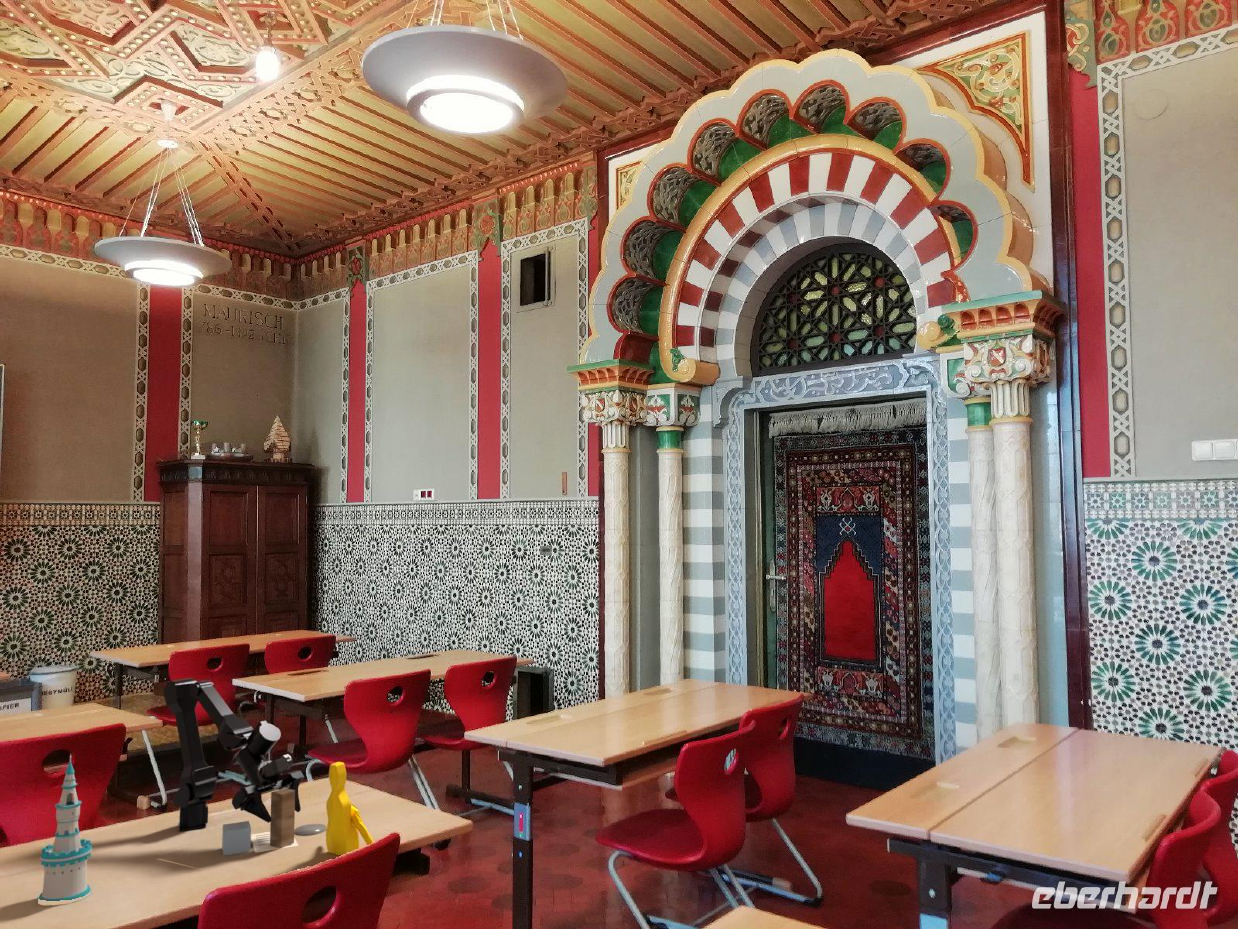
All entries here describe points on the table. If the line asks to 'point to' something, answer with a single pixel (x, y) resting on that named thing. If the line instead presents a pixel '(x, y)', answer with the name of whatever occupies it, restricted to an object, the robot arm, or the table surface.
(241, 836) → the grey cube
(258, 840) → the letter
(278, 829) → the walnut block
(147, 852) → the table surface
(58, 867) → the model tower
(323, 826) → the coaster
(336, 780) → the figure statuette
